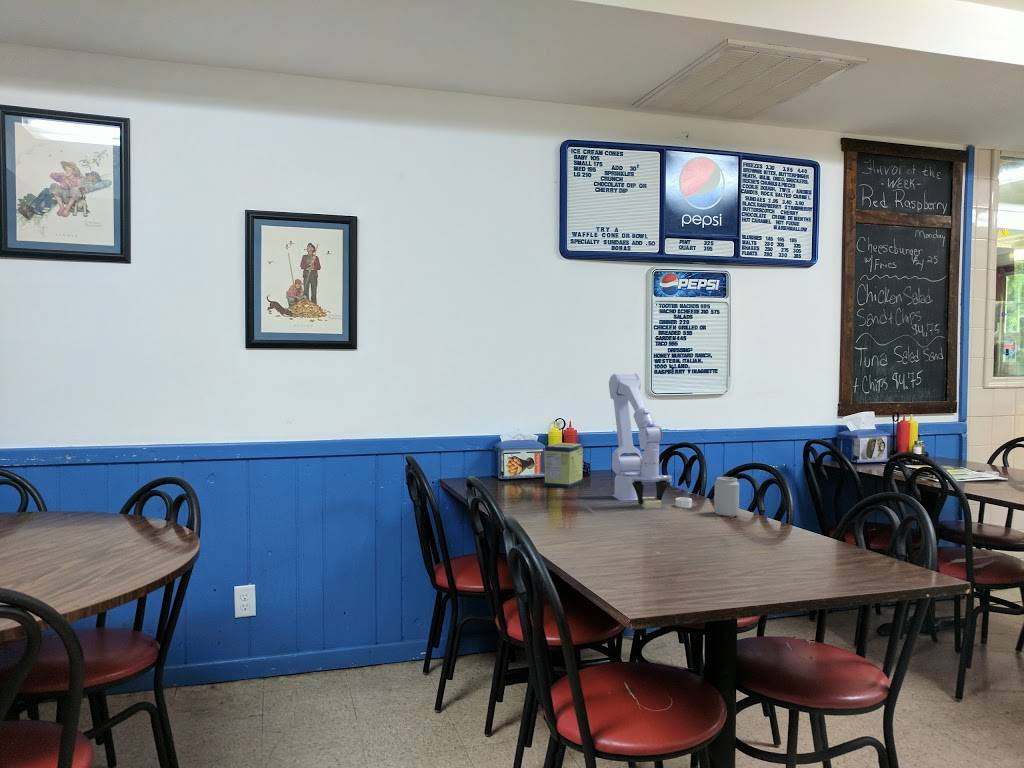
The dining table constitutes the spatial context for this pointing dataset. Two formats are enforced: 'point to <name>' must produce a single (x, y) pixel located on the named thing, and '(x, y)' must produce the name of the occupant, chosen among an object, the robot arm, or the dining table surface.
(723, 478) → the can
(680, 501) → the bowl
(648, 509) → the mat
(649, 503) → the block
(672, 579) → the dining table surface
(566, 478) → the protein box
